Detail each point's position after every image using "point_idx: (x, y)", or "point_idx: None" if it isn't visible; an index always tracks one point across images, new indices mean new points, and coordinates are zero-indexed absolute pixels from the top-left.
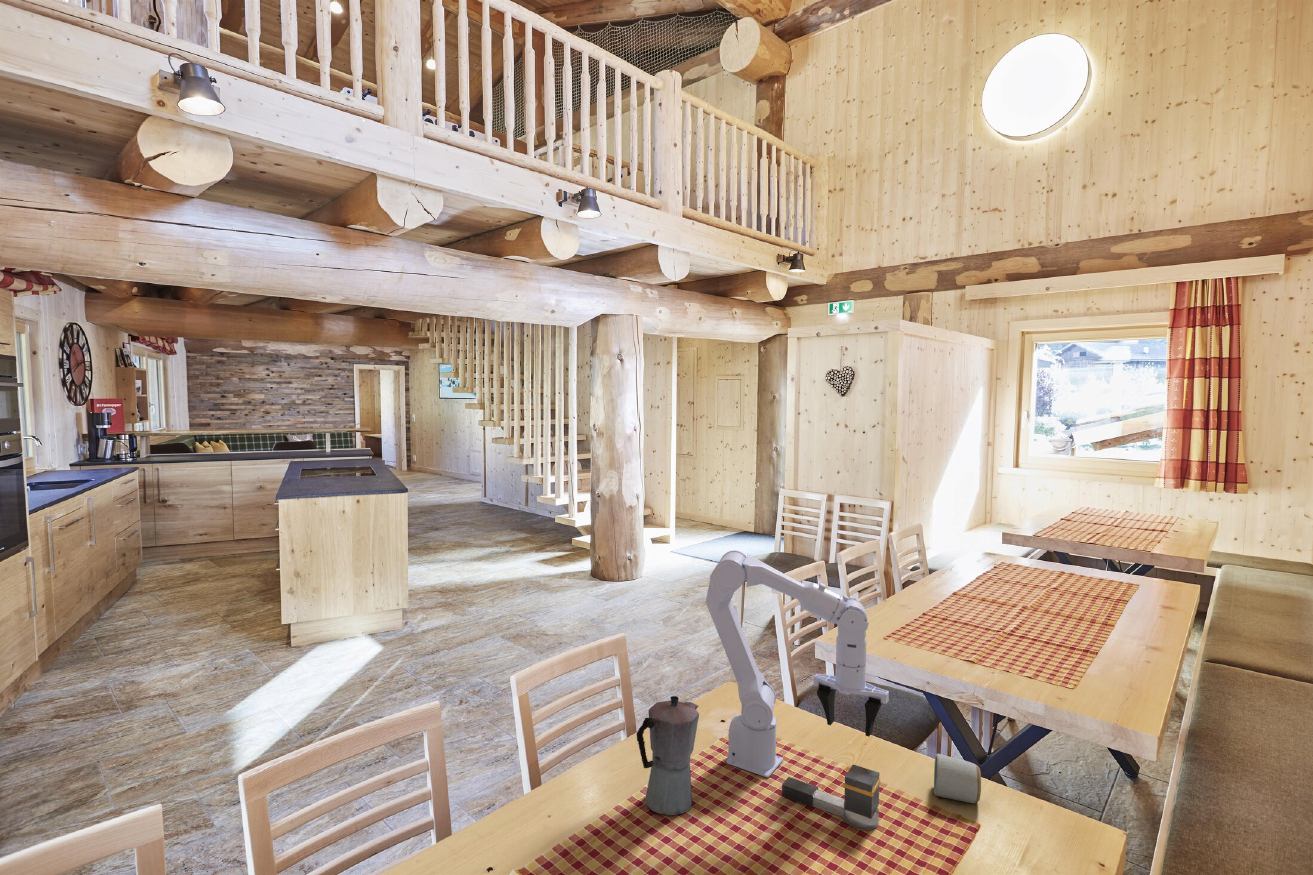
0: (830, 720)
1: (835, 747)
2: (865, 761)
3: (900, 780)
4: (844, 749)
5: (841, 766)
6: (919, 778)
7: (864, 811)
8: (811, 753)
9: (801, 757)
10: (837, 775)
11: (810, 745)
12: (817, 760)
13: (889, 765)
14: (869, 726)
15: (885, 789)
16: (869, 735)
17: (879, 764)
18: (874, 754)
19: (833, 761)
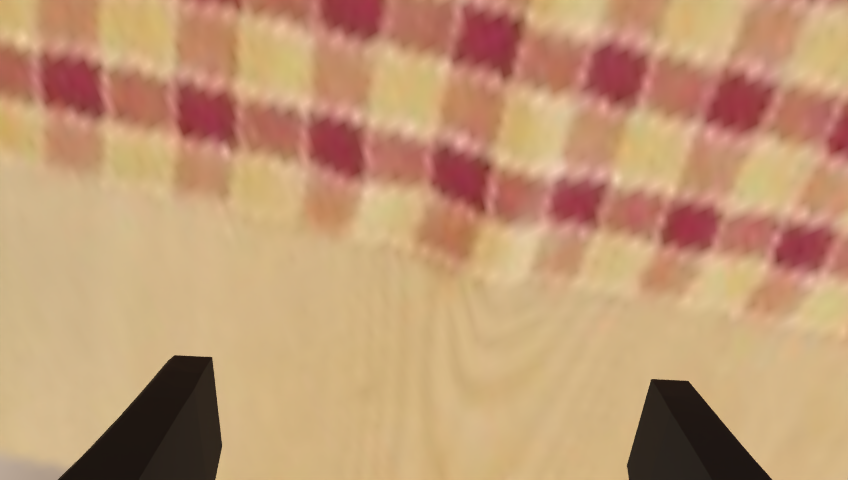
0: (669, 424)
1: (585, 412)
2: (378, 359)
3: (122, 272)
4: (528, 416)
5: (505, 242)
6: (41, 341)
7: None
8: (729, 289)
9: (795, 213)
10: (506, 125)
11: (746, 366)
12: (676, 232)
13: (239, 383)
14: (102, 442)
15: (159, 128)
16: (164, 369)
17: (293, 367)
18: (352, 442)
19: (568, 271)
